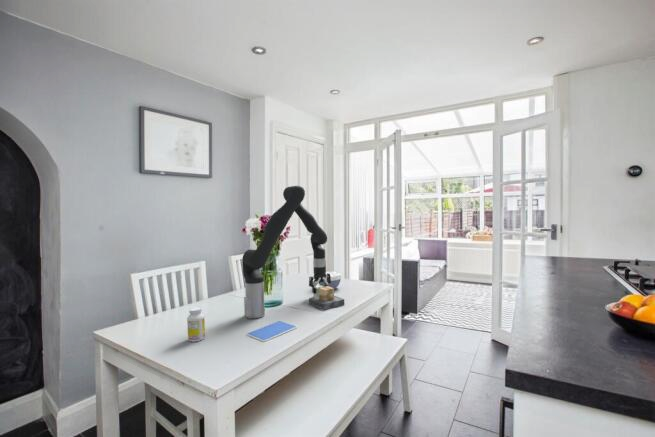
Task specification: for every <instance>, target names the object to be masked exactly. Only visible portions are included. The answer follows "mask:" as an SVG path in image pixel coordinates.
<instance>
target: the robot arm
mask: <svg viewBox="0 0 655 437" xmlns="http://www.w3.org/2000/svg"><path fill="white" fill-rule="evenodd" d="M282 195H283V196H282V197H283V199H284V201H285V203H283V205H282V206H281V207H279V208H278V209H277V210H276V211H275V212H273V214H272V215H271V216H270V218H269V219H268V220H267V222H266V224H265V226H264V229H263V237H262V240H261V242H260V244H259V245H258V247H257V248H256V249H247V250H246V251H245V252H244V253H243V255H242V257H241V258H242V259H241V261H242V263H241V264H242V275H243V278H244V288H245V290H244V291H245V292H244V293H245V296H244V297H243V303H244V304H243V306H244V317H245V318H247V319H249V320H251V319H259V318H262V317H264V316H265V314H266V312H265V311H266V310H265V308H266V307H265V284H264V283H265V277H264V275H263V274H262V272H261V271H260V269H262V268H263V267H264V266H265V265H266V264H267V261H268V259H269V257H270V254H271V252H272V250H273V248H274V246H275V245H276V243H277V241H278V240H279V238H280V236H281V234H282V233H283V231H284V229H285V228H286V226H287V225H288V223H289V221H290V219H291V218H292V216H293V215H294V213H295V214H296V215H297V216H298V217H299V220H300V221H301V222H302V224H303V225H304V227H305V229H306V230H307V232H309V233H310V234H311V235H310V243H311V248H312V251H313V252H312V253H313V261H312V262H313V263H312V266H313V267H312V268H313V270H312V271H313V276H309V277H308V281H309V282H308V287H310V288H311V290H312V294H313V293H314V294H316V288H315V287H316V286H318V285H319V283H320V282H324V284H325V287H326V286H328V284H330V283H331V277H330V274H328V273H327V274H326V272H327V260H326V250H325V248H324V247H322V245H325V244H327V243H328V235H327V234H326V232H325V231H324V229H322V227H320V225H319V224H318V222H317V221H316V218H315V217H314V216H313V214H312V213H311V212H310V211H308V210H307V209H306V208H305V207H304V206H303V204H302V202H303V200H304V199H305V195H306V190H305V189H304V187H303V186H300V185H293V186H287V187H285V188H284V190H283V192H282ZM326 277H327V280H326V279H325V278H326Z"/></svg>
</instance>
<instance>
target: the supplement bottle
mask: <svg viewBox="0 0 655 437" xmlns="http://www.w3.org/2000/svg"><path fill="white" fill-rule="evenodd" d="M186 321H187V340H188V341H189V342H191V341H192V342H193V343H196V341H197V342H200V340H201V341H203V340H204V339H205V338H206V323H205V322H206V321H205V314H204V313H202V307H200V306H199V307H198V306H197V307H196V306H195V307H191V308H190V309H189V313H188V316H187V318H186Z"/></svg>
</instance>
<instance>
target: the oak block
mask: <svg viewBox="0 0 655 437" xmlns="http://www.w3.org/2000/svg"><path fill="white" fill-rule="evenodd" d="M334 296H335V289H334V288H332V287H329V286H326V287H321V288H319V299H321V300H324V301H328V300H332V299H334Z"/></svg>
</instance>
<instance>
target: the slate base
mask: <svg viewBox="0 0 655 437" xmlns="http://www.w3.org/2000/svg"><path fill="white" fill-rule="evenodd" d="M309 304H310V305H312V306H314V307H316V308H318V309H320V310H328V309H333V308H337V307H341V306H345V299H344V298H341V297H340V296H337V295H334V299H332V300H328V301H324V300H321V299H319V296H317V297H313V296H312V297H309Z"/></svg>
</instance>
